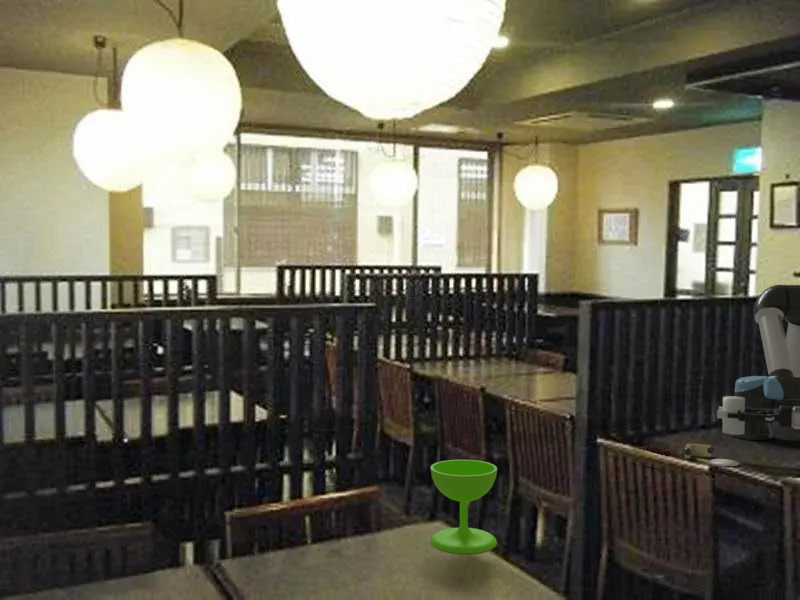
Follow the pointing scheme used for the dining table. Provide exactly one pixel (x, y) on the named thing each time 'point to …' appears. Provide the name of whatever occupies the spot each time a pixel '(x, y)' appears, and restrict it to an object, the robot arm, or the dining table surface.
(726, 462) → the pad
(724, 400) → the tall sage cylinder
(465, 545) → the wineglass
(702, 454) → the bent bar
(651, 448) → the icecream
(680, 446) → the dining table surface
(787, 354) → the robot arm
